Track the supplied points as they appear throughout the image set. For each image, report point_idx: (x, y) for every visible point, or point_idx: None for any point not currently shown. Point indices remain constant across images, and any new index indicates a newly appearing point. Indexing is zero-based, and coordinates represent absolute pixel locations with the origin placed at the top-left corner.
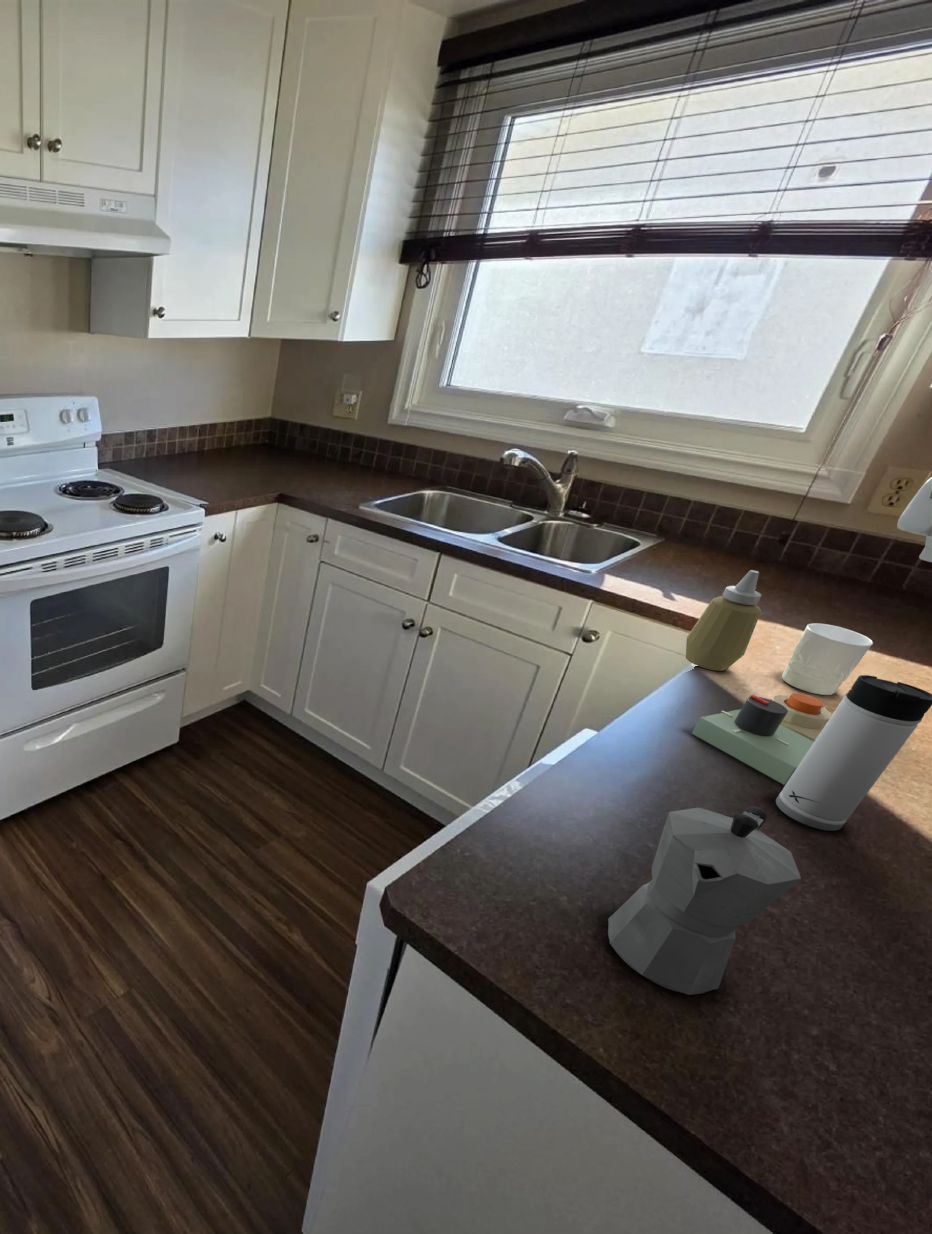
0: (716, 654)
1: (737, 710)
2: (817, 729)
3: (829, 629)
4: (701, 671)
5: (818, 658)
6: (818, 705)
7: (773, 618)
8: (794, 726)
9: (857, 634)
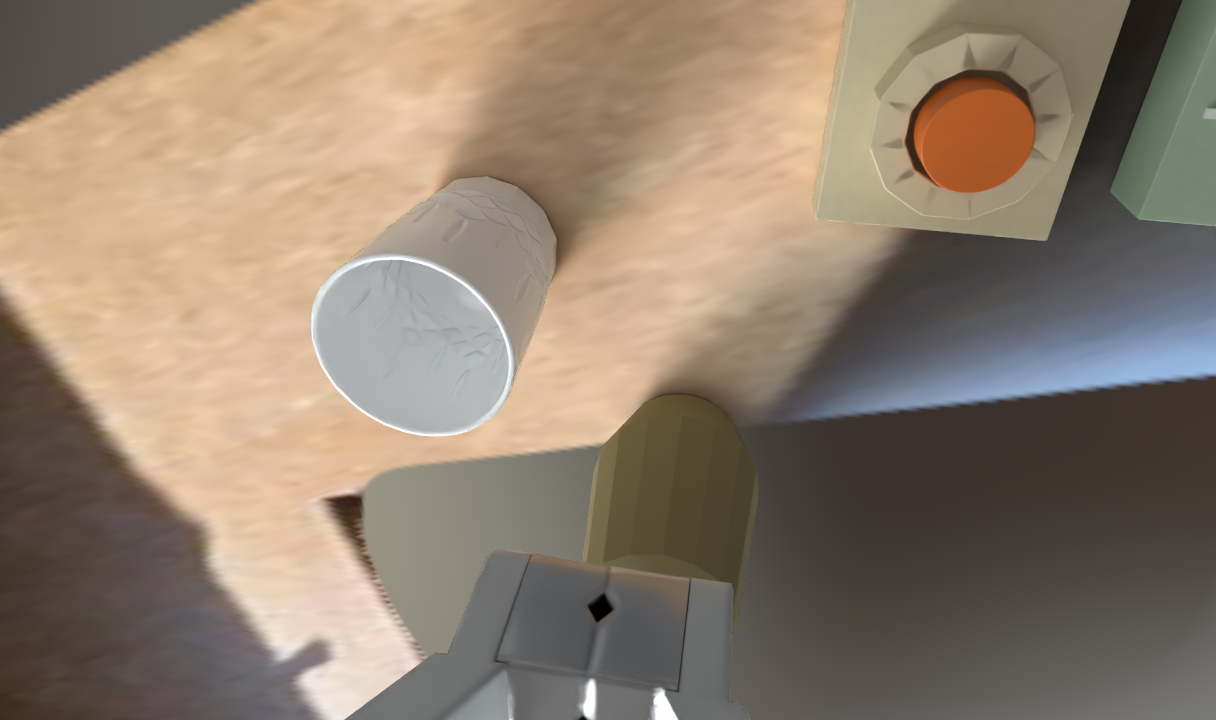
0: (746, 452)
1: (1202, 221)
2: (1013, 27)
3: (358, 386)
4: (759, 417)
5: (531, 297)
6: (1006, 94)
7: (114, 490)
8: (1077, 75)
9: (319, 322)
